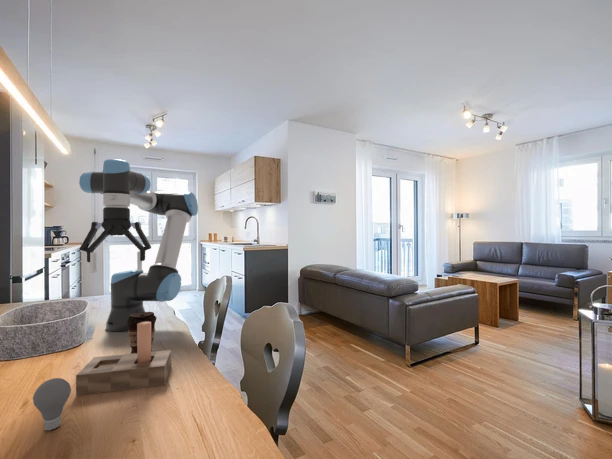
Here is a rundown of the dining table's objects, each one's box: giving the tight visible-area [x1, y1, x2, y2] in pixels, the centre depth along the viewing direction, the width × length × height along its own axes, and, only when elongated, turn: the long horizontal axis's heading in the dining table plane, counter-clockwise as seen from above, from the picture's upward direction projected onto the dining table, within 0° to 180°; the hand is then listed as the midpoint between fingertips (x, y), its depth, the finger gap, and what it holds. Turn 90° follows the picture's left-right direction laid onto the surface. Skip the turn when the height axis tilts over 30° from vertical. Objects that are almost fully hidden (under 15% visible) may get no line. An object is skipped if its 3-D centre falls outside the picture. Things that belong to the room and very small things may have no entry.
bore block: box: [75, 349, 172, 397], centre depth 84 cm, size 11×20×5 cm, turn 105°
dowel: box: [137, 322, 151, 364], centre depth 85 cm, size 3×3×14 cm
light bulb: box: [32, 377, 72, 431], centre depth 63 cm, size 6×6×10 cm
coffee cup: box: [127, 311, 157, 354], centre depth 101 cm, size 9×8×13 cm
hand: (116, 271), depth 102 cm, fingers open, 13 cm apart
